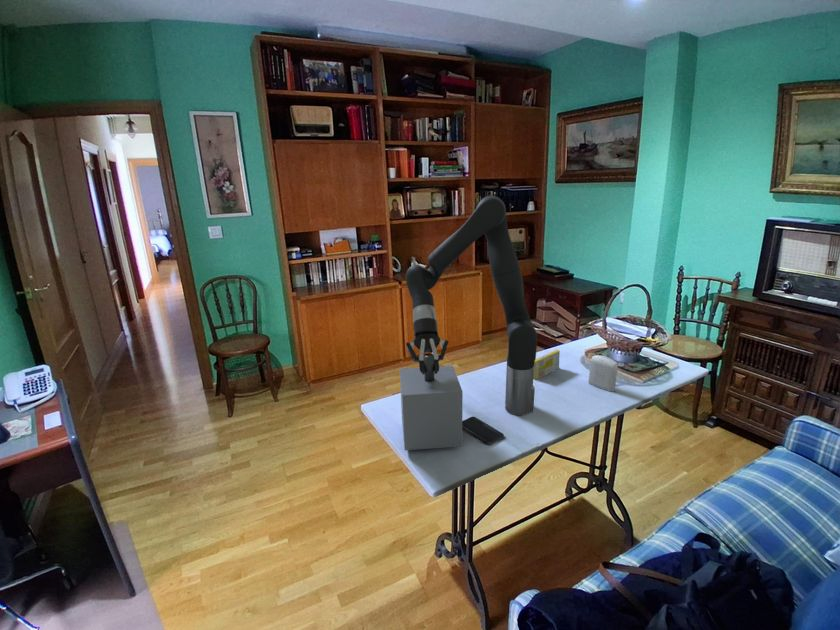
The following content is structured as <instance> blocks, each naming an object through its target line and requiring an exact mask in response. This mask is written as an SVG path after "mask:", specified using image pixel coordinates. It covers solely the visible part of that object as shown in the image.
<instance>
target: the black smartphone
mask: <svg viewBox="0 0 840 630" xmlns="http://www.w3.org/2000/svg"><path fill="white" fill-rule="evenodd" d="M462 431H463V432H466V434H469V436H471V437H473V438H475V439H476V440H478V441H479V442H480V443H482V444H484V445H485V446H492V445H494V444H495V443H499V441H501V440H503V439H505V434H504V433H503V432H501V431H499V430H498V429H496V428H494V427H493V426H492V425H489V424H488V423H487V422H484V421H482V420H481V419H480V418H478V417H477V416H470V417H468V418H465V419H464V420H462Z"/></svg>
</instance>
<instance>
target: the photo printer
mask: <svg viewBox="0 0 840 630" xmlns="http://www.w3.org/2000/svg"><path fill="white" fill-rule="evenodd" d="M589 365H590V366H589V373H588V374H589V375H588V383H589V384H590V385H592V386H595V387H598V388H601V390H602V389H603V390H605V391H608V392H613V390H614V391H615V389H616V384H617V378H618V369H619V363H618V362H617V361H615V360H614V359H612V358H610V357H608V356H604V355H600V354H599V355H592V357H591V359H590V364H589Z"/></svg>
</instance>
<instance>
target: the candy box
mask: <svg viewBox="0 0 840 630" xmlns="http://www.w3.org/2000/svg"><path fill="white" fill-rule="evenodd" d="M560 353H561V352H560V350H558V349H555V350H553V351H551V352H549V353H547V354H544V355H542V356H540V357H538V358H536V359H535V362H534V375H533V380H534V379H535V380H534V381H536V380H538V379H540V378H542V376H543V377H545V376H546V374H547V375H548V373H549V374H550V372H551V373H552V371H553V372H554V370H555V371H556V370H557V371H558V368H559V369H560ZM544 375H545V376H544Z"/></svg>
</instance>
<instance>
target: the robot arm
mask: <svg viewBox="0 0 840 630" xmlns="http://www.w3.org/2000/svg"><path fill="white" fill-rule="evenodd" d="M483 235H485V237H486V242H487V243H486V244H487V248H488V250H487V252H488V260H489V261H488V262H489V267H490V273H491V277H492V281H493V285H494V287H495V291H496V293H497V295H498V298H499V299H500V302H501V305H502V308H503V311H504V317H505V323H506V334H507V338H508V345H507V346H508V347H507V357H506V373H505V397H504V398H505V402H504V404H505V406H504V409H505V411H506V412H508V413H509V414H510V415H515V416H525V415H528V414H530V413H534V406H535V394H536V393H535V391H536V390H535V385H534V379H533V375H534V362H535V359H537V358H536V357H537V349H538V348H537V346H538V334H537V331H536V328H535V326H534V324H533V323H532V319H531V317H530V315H529V313H528V309H527V305H526V302H525V287H524V279H523V275H522V270H521V267H520V263H519V261H518V260H519V259H518V257H517V253H516V250H515V248H514V246H513V242H512V240H511V238H510V233H509V228H508V221H507V210H506V205H505V202H504V201H503V200H502V199H501V198H500V197H498V196H496V195H487V196H484V197H483V198H481V199H480V201H479V202H478V204H477V205H476V207H475V210H474V211H473V212H472V214H471V215H470V216H469V217H468V219H467V220H466V221H465V222H464V224H462V225H461V226H460V227H459V228H458V229H457V230H455V232H454V233H453V234H451V235H450V236H449V237H447V238H446V239H445V240H444V241H443V242H442V243H441V244H440V245H438V246H437V247H436V248H435V249H434V250H433V251H432V252H431V253H430V254H429V255H428V257H427V262H428V264H429V266H430V267H429V268H428V269H426V268H425V267H423V266H421V265H419V264H412V265H410V267H409V268H407V271H406V273H405V282H406V286H407V289H408V292H409V295H410V298H411V301H412V324H413V336H414V337H413V341H410V342H406V343H405V348H406V350H407V352H408V355H410V356H409V357H410V358H411V359H412V361H413V363H415V362H417V363H418V365H419V367H418V368H420V373H422V375H423V374H425V368H424V355H425V354H427V353H430V354H433V355H434V372H435V374H437V372H438V371H439V366H440V362H439V361H444V357H445V355H446V352H447V348H448V345H449V341H448V340H442V339H441V338H440V336H439V332H438V331H439V330H438V321H437V314H436V309H435V301H434V295H433V294H432V293H431V291H430V290H431V289H433V288H434V287H435V286H436V284H437V283H438V282H439V280H440V278H441V277H442V275H443V273H444V272H445V271H446V269H448V267H449V266H451V265H452V263H455V261H456V260H457V259H458V258H459V257H460V256H462V254H463V253H464V252H465V251H466V250H467V249H469V247H470V246H471V245H473V244H474V243H475V242H476V241H477V240H478V239H480V238H481V237H482V236H483ZM439 345H440V348H442V349H441V351H440V354H438V351H437V348H438V346H439ZM415 347H416V348H417V349H418V351H419V356H417V354H416V353H415V350H414V348H415Z"/></svg>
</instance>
